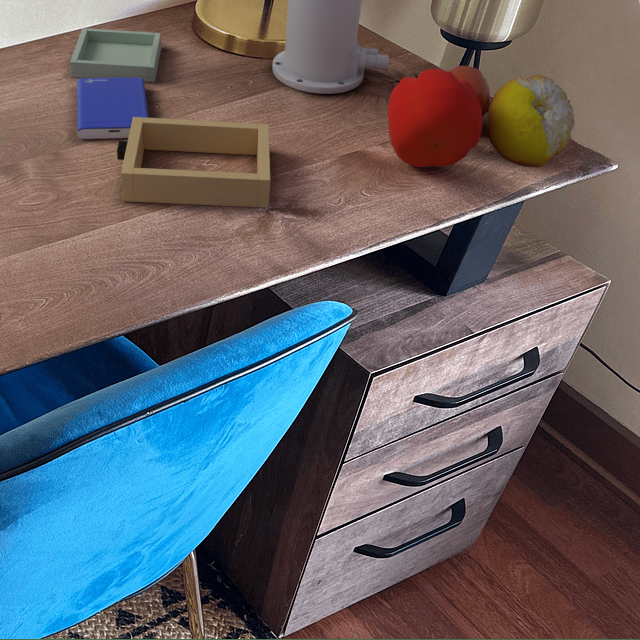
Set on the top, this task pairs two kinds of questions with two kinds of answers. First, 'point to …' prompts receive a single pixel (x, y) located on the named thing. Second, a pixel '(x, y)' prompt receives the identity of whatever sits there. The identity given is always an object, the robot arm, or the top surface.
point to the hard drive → (109, 106)
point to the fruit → (530, 120)
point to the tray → (116, 54)
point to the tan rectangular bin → (195, 183)
